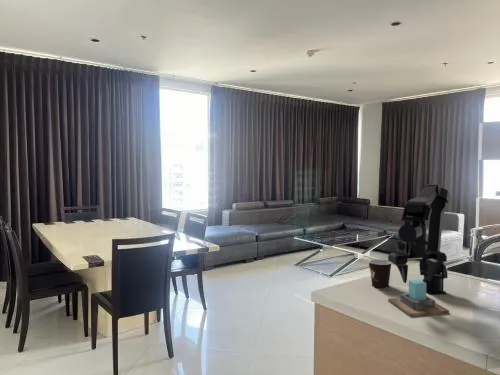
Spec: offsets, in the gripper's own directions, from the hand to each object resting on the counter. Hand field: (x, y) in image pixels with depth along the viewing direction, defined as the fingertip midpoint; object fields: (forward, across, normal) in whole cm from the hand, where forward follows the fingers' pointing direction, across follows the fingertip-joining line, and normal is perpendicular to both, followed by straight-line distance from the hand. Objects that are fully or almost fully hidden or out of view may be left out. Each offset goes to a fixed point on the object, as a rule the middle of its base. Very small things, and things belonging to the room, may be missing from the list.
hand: (417, 281), depth 130 cm
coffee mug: (+9, +1, -25) cm, 27 cm away
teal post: (+8, 0, 0) cm, 8 cm away
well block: (+9, 0, 0) cm, 9 cm away
